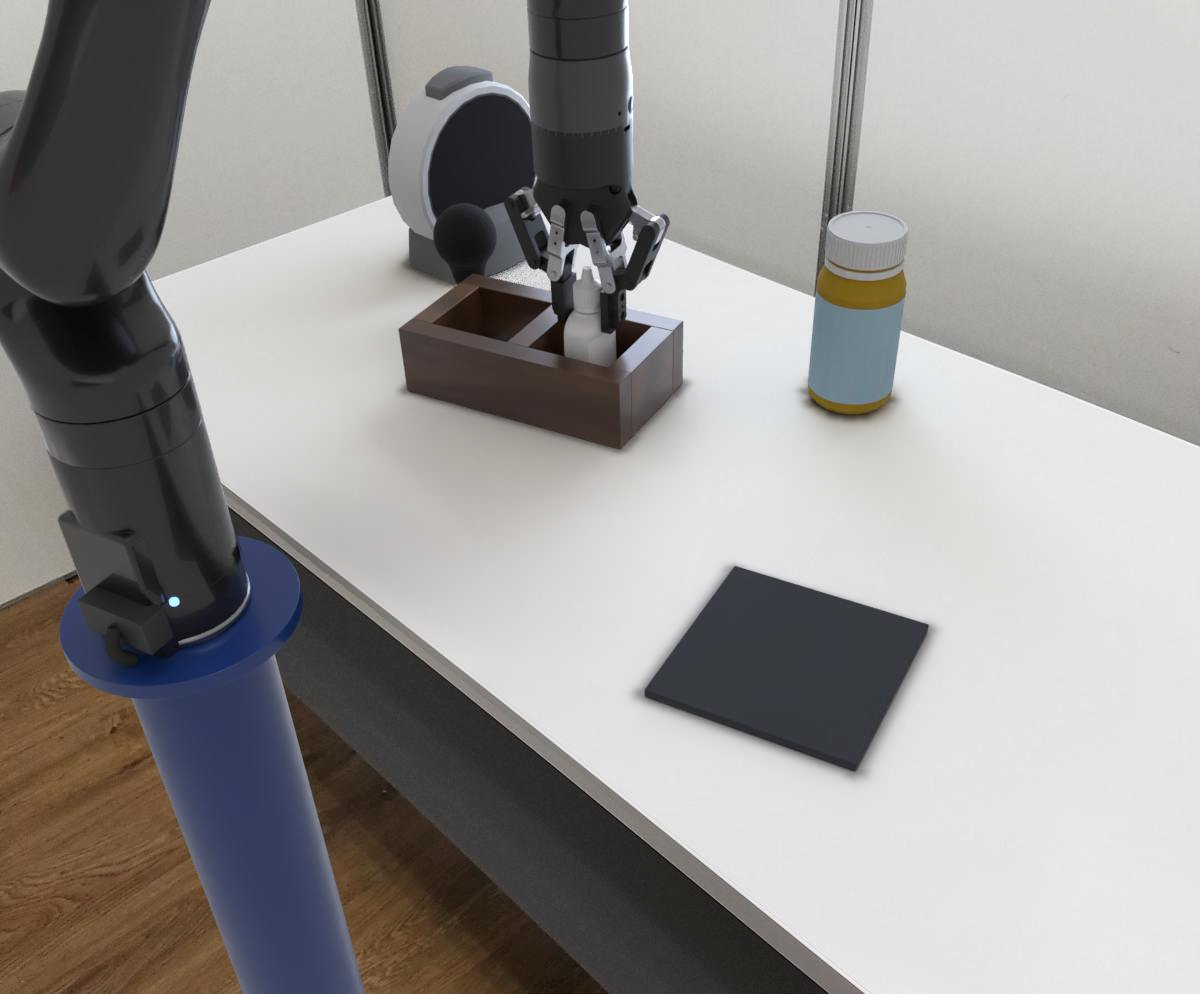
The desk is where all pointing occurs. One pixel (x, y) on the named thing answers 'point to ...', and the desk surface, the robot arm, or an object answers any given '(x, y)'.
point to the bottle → (858, 312)
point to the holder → (539, 362)
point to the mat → (790, 665)
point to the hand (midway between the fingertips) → (589, 323)
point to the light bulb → (465, 239)
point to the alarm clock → (460, 161)
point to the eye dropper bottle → (588, 324)
